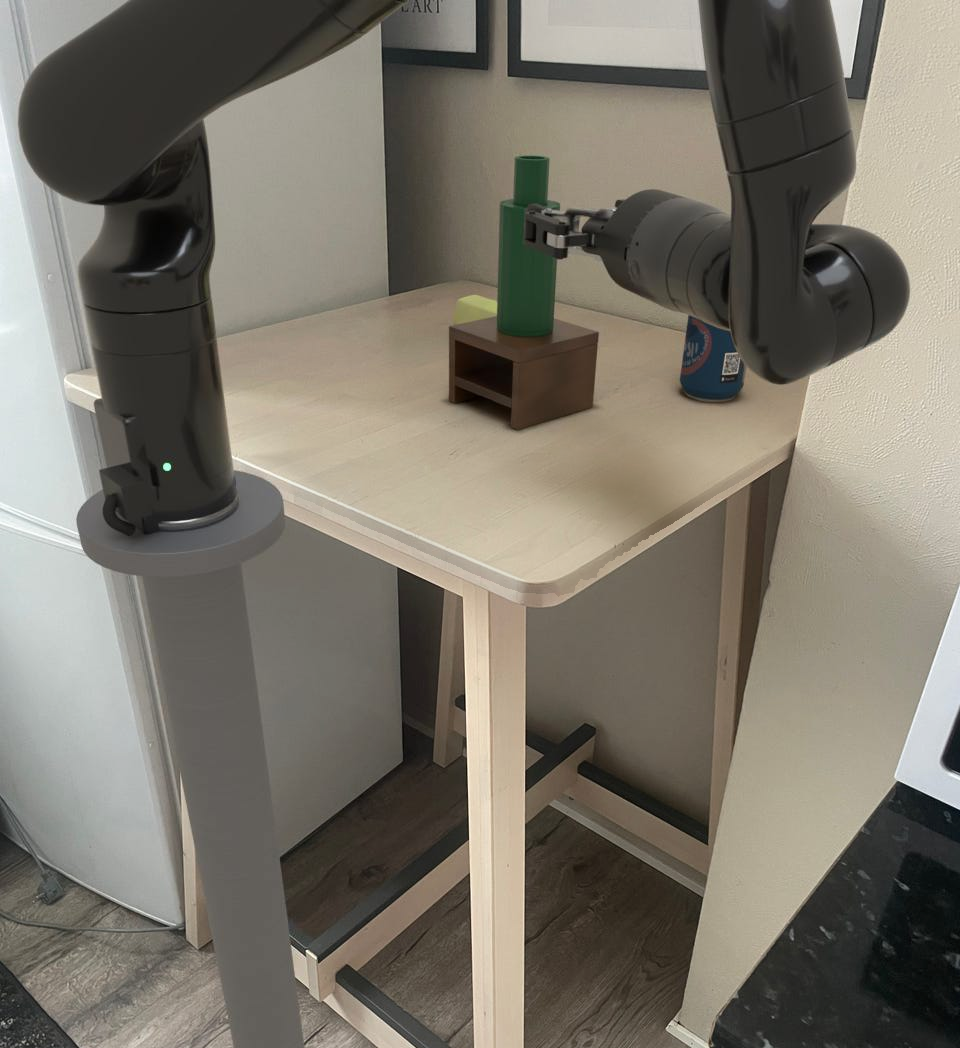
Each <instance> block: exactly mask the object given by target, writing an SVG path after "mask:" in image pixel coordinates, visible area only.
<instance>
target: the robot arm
mask: <svg viewBox="0 0 960 1048" xmlns="http://www.w3.org/2000/svg"><path fill="white" fill-rule="evenodd" d="M410 1H411V0H126V1H125V2H124V3H123V4H121V5H120V6H119V7H117V8H115V9H114V10H113V11H111V12H110V13H109V14H107V15H105V16H104V17H103V18H102V19H100V20H99V21H97V22H95V23H94V24H92V25H91V26H89V27H88V28H86V29H85V30H83V31H82V32H81V33H79V34H78V35H76V36H75V37H73V38H71V39H70V40H68V41H67V42H65V43H64V44H62V45H61V46H60V47H58V48H56V49H55V50H53V51H52V52H51V53H49V54H48V55H47V56H45V57H44V58H43V59H42V60H41V61H39V63H38V64H37V65H36V66H35V67H34V69H33V70H32V71H31V73H30V74H29V76H28V78H27V80H26V82H25V84H24V86H23V88H22V91H21V94H20V99H19V103H18V112H17V129H18V138H19V142H20V146H21V148H22V152H23V155H24V157H25V160H26V162H27V164H28V165H29V167H30V169H31V170H32V171H33V173H34V174H35V176H36V177H37V178H38V179H39V180H40V181H41V182H42V183H43V184H45V185H46V187H48V189H50V190H52V191H53V192H55V193H56V194H58V195H59V196H61V197H63V198H65V199H68V200H70V201H73V202H76V203H79V204H83V205H89V206H90V205H91V206H96V207H97V206H102V207H103V220H102V224H101V227H100V230H99V233H98V234H97V236H96V238H95V240H94V242H93V243H92V244H91V245H90V247H89V248H88V250H87V251H86V252H85V253H84V254H83V256H81V258H80V260H79V261H78V265H77V280H78V285H79V292H80V295H81V296H80V297H81V300H82V305H83V310H84V316H85V320H86V326H87V332H88V335H89V336H88V337H89V341H90V346H91V351H92V357H93V361H94V362H93V363H94V367H95V372H96V378H97V381H98V387H99V391H100V398H96V399H95V400H94V401H93V409H94V413H95V418H96V423H97V428H98V433H99V437H100V443H101V447H102V452H103V457H104V458H103V459H104V462H105V467H104V468H101V469H99V470H98V472H99V477H100V482H101V487H102V490H103V492H104V497H105V502H104V505H103V517H104V519H105V521H106V523H107V524H108V525H109V526H110V527H111V528H113V529H114V530H116V531H119V532H121V533H123V534H125V535H127V536H131V535H132V534H133V533H134V532H135V530H136V528H137V529H139V530H140V531H141V532H142V533H144V534H145V535H148V534H152V533H156V532H163V531H185V530H192V529H198V528H202V527H206V526H209V525H212V524H215V523H217V522H220V521H222V520H224V519H226V518H227V517H229V516H230V515H231V514H233V513H234V512H235V511H236V509H237V508H238V505H239V499H238V491H237V489H236V480H235V476H234V470H235V469H234V462H233V456H232V447H231V440H230V431H229V424H228V416H227V415H228V414H227V409H226V408H227V407H226V402H225V393H224V385H223V376H222V370H221V369H222V368H221V361H220V355H219V353H220V352H219V346H218V345H219V344H218V339H217V329H216V322H215V314H214V307H213V306H214V305H213V297H212V289H211V280H210V277H211V276H210V274H211V268H212V264H213V260H214V257H215V251H216V227H215V211H214V199H213V186H212V185H213V184H212V173H211V162H210V152H209V151H210V150H209V143H208V135H207V129H206V125H205V120H204V119H205V118H207V117H208V116H210V115H211V114H213V113H214V112H215V111H218V109H220V108H222V107H223V106H225V105H227V104H229V103H231V102H233V101H235V100H237V99H239V98H241V97H243V96H245V95H248V94H251V93H252V92H255V91H257V90H259V89H261V88H264V87H266V86H268V85H271V84H273V83H275V82H278V81H280V80H282V79H285V78H287V77H290V76H291V75H293V74H296V73H298V72H299V71H301V70H304V69H305V68H308V67H310V66H312V65H314V64H316V63H318V62H320V61H322V60H324V59H326V58H328V57H329V56H332V55H333V54H335V53H338V52H339V51H341V50H342V49H344V48H346V47H348V46H350V45H351V44H353V43H354V42H356V41H357V40H359V39H360V38H362V37H363V36H365V35H367V34H368V33H369V32H371V30H372V31H373V29H374V28H376V27H377V26H378V25H380V24H381V23H382V22H384V21H385V20H387V19H388V18H389V17H390V16H391V15H393V14H395V13H396V12H398V11H399V10H400V9H402V7H404V6H405V5H406V4H408V3H409V2H410ZM697 4H698V13H699V14H698V15H699V23H700V24H699V25H700V32H701V33H700V34H701V41H702V49H703V59H704V65H705V66H704V67H705V73H706V80H707V85H708V91H709V97H710V102H711V107H712V114H713V118H714V122H715V126H716V127H715V128H716V132H717V136H718V141H719V147H720V150H721V156H722V159H723V164H724V168H725V171H726V178H727V182H728V185H729V190H730V191H729V192H730V214H728V213H726V212H724V211H723V210H722V209H720V208H717V207H716V206H714V205H711V204H708V203H705V202H701V201H698V200H694V199H692V198H688V197H685V196H681V195H678V194H675V193H672V192H668V191H666V190H661V189H655V188H651V189H644V190H640V191H638V192H635V193H633V194H632V195H630V196H628V197H627V198H626V199H625V198H624V199H617V200H615V203H614V206H605V207H602V208H595V207H589V206H579V205H576V206H572V207H568V208H567V209H566V210H560V211H558V210H552V209H551V208H547V207H545V206H542V205H540V204H529V205H528V207H527V209H525V219H524V228H525V232H524V242H523V245H525V246H527V247H530V248H532V249H534V250H537V251H539V252H542V253H544V254H546V255H549V256H551V257H554V258H557V260H564V259H567V258H568V257H569V256H568V255H569V254H571V255H578V256H586V257H592V258H594V259H595V260H596V261H597V262H602V263H603V265H604V267H605V269H606V272H607V273H608V275H609V277H610V279H611V280H612V281H613V282H614V283H615V284H616V285H617V286H619V287H620V288H622V289H624V290H626V291H628V292H630V293H632V294H634V295H637V296H639V297H641V298H643V299H645V300H647V301H649V302H651V303H654V304H655V305H658V306H660V307H662V308H664V309H667V310H669V311H672V312H675V313H676V312H677V313H680V314H685V315H687V316H688V315H690V316H692V317H694V318H696V319H698V320H701V321H703V322H705V323H707V324H709V325H711V326H714V327H717V328H719V329H723V330H726V331H730V332H731V336H732V340H733V343H734V346H735V348H736V351H737V353H738V355H739V357H740V358H741V360H742V361H743V363H744V364H745V366H746V369H748V370H749V371H750V372H751V373H752V374H753V375H754V376H755V377H757V378H758V379H760V380H761V381H763V382H766V383H768V384H771V385H776V386H778V385H779V386H783V385H790V384H793V383H796V382H799V381H801V380H804V379H806V378H808V377H810V376H812V375H814V374H817V373H818V372H820V371H822V370H823V369H827V368H828V367H830V366H832V365H834V364H836V363H838V362H840V361H842V360H844V359H846V358H848V357H850V356H852V355H854V354H856V353H858V352H860V351H862V350H864V349H866V348H868V347H871V346H872V345H875V344H876V343H878V342H880V341H881V340H882V339H884V338H885V337H887V336H888V335H890V334H891V332H893V331H894V330H895V329H896V327H897V326H898V325H899V324H900V323H901V321H902V320H903V318H904V317H905V315H906V311H907V309H908V306H909V304H910V299H911V298H910V297H911V284H910V275H909V274H908V269H907V267H906V265H905V263H904V261H903V259H902V258H901V256H900V255H899V253H898V252H897V251H896V250H895V248H893V246H892V245H890V244H889V243H888V242H887V241H886V240H885V239H883V238H882V237H880V236H879V235H876V234H875V233H873V232H871V231H869V230H867V229H863V228H860V227H856V226H851V225H845V224H834V223H814V221H815V220H816V218H817V217H818V216H819V215H820V214H821V213H822V212H823V211H824V210H825V209H826V208H827V207H828V206H829V205H830V204H832V203H833V202H834V201H835V200H836V199H837V198H839V197H840V196H841V195H842V194H843V193H844V192H845V191H846V190H847V189H848V188H849V187H850V186H851V184H852V183H853V181H854V179H855V178H856V177H855V176H856V172H857V151H856V144H855V143H856V142H855V138H854V131H853V128H852V127H853V123H852V118H851V117H852V116H851V110H850V103H849V98H848V97H849V96H848V92H847V91H848V90H847V85H846V79H845V72H844V67H843V61H842V55H841V48H840V44H839V43H840V42H839V37H838V32H837V28H836V22H835V18H834V13H833V8H832V7H833V6H832V2H831V0H697ZM581 217H584V218H588V219H587V220H586V221H585V223H584V224H583V225H582V227H581V229H580V219H581ZM115 511H116V512H117V513H118V514H119V515H121V516H122V517H123V518H124V519H125V520H127V521H128V522H129V523H128V522H126V521H123V520H121V519H120V518H118V517H117V515H116V513H115ZM130 523H131V524H130ZM132 524H133V525H132Z"/></svg>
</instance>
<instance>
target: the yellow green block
mask: <svg viewBox="0 0 960 1048" xmlns="http://www.w3.org/2000/svg"><path fill="white" fill-rule="evenodd" d="M495 316H497V300H494V299H491V298H487V297H484V296H481V295H478V294H470V295H467V296H463V297H461V298H458V300H457V302H456V304H455V310H454V313H453V318H452V324H453V325H457V324H462V323H466V322H471V321H476V320H480V319H485V318H490V317H495Z"/></svg>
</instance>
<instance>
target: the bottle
mask: <svg viewBox="0 0 960 1048" xmlns="http://www.w3.org/2000/svg"><path fill="white" fill-rule="evenodd" d="M513 169H514V170H513V171H514V172H513V196H512V197H513V198H509V199H505V200H501V201H500V202H499V221H498V222H499V223H498V225H499V226H498V259H497V260H498V262H497V263H498V264H497V297H496V298H497V299H496V301H497V330H498V331H499V332H501V333H503V334H507V335H511V336H518V337H538V336H544V335H547V334H550V333H551V332H552V331H553V323H554V318H555V302H556V286H557V272H558V271H557V268H558V259H557V258H554V257H551V256H549V255H546V254H544V253H542V252H539V251H537V250H534V249H532V248H530V247H527V246H525V245H523V242H524V232H525V228H524V219H525V209H527V207H528V205H529V204H540V205H542V206H545V207H547V208H551V209H552V210H558V211H561V203H560V202H558V201H555V200H550V199H548V197H549V180H550V179H549V177H550V176H549V175H550V158H549V157H548V156H543V155H532V154H531V155H517V156H515V157H514V168H513Z"/></svg>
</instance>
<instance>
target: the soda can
mask: <svg viewBox="0 0 960 1048" xmlns="http://www.w3.org/2000/svg"><path fill="white" fill-rule="evenodd" d="M684 338H685V339H684V344H683V345H684V346H683V353H682V359H681V367H680V368H681V369H680V375H679V384H680V385H681V389H682V390H683V392H684V394H685V396H687V397H688V398H690V399H692V400H695V401H700V402H704V403H724V402H725V403H726V402H729V401H733V400H734V399H735V398H736V397H737V396H738V394H739V393H740V392H741V390H742V389H743V387H744V384H745V379H746V372H747V367H746V366H745V364H744V363H743V361H742V360H741V358H740V357H739V355H738V353H737V351H736V348H735V346H734V343H733V340H732V336H731V332H730V331H726V330H723V329H719V328H717V327H714V326H711V325H709V324H707V323H705V322H703V321H701V320H698V319H696V318H694V317H692V316H690V315H688V314H687V324H686V332H685V337H684Z"/></svg>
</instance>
